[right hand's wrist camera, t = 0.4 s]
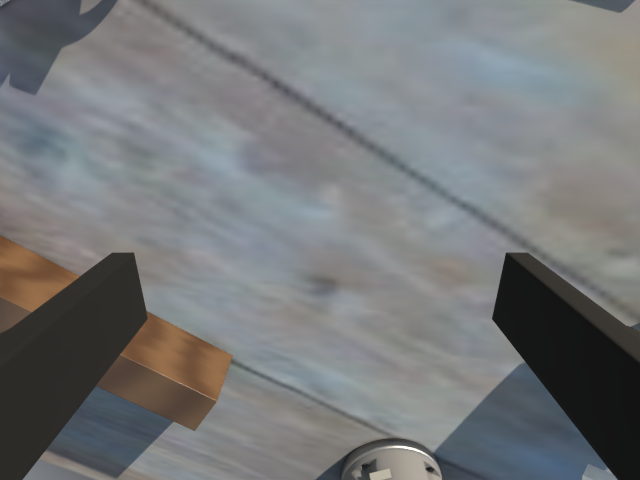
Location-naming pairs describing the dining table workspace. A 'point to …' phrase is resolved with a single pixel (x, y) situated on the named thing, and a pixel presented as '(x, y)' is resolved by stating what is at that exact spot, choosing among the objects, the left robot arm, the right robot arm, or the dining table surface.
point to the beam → (139, 355)
